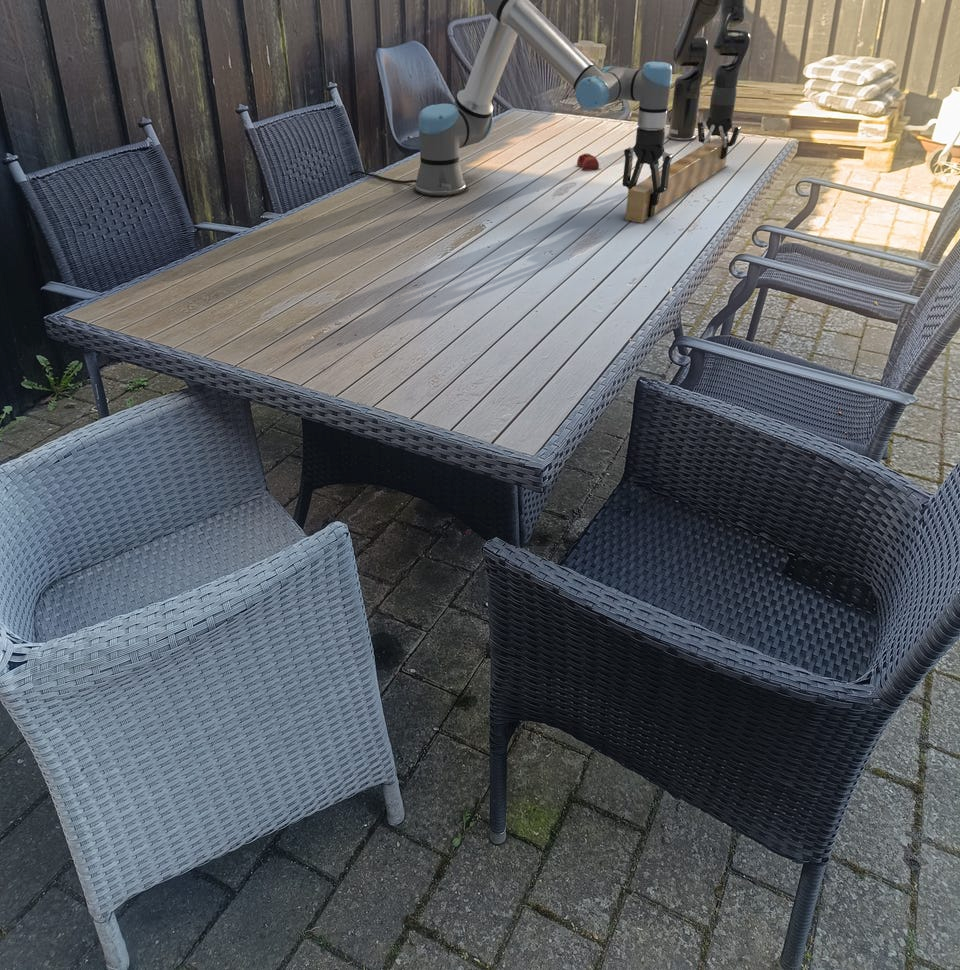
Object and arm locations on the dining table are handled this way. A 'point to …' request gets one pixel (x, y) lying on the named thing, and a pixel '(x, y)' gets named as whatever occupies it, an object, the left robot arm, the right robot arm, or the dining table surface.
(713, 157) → the bar
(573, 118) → the dining table surface
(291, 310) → the dining table surface
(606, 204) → the dining table surface
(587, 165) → the red rounded lump
